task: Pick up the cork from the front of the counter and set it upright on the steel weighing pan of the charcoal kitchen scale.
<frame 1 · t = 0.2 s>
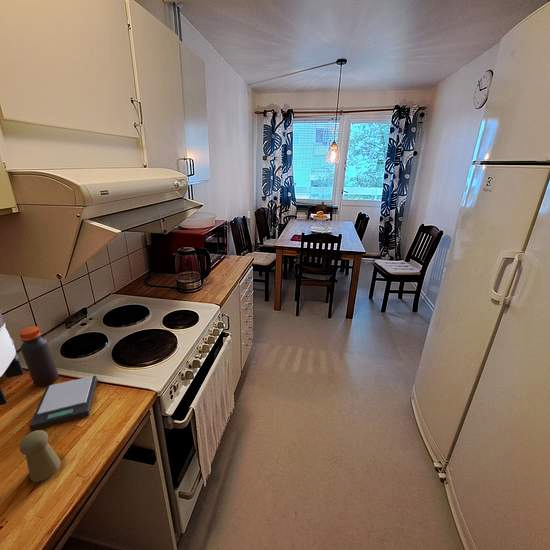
hand: (7, 389, 65), 21 cm above the worktop, tool pointing down, fingers open, 9 cm apart
bottle: (47, 380, 98), on the worktop
scale: (67, 402, 89), on the worktop
cork: (45, 469, 70), on the worktop
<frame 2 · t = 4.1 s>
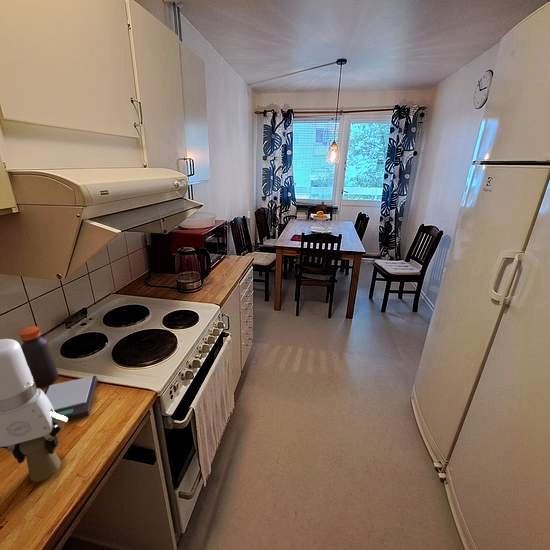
hand: (38, 452, 68), 6 cm above the worktop, tool pointing down, fingers closed on cork, 5 cm apart
cork: (45, 469, 70), on the worktop, touching gripper
everything else where it was.
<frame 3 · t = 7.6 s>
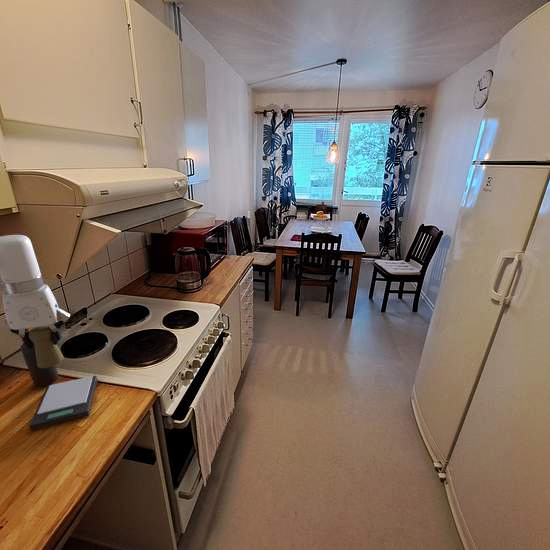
hand: (44, 343, 79), 23 cm above the worktop, tool pointing down, fingers closed on cork, 5 cm apart
cork: (50, 361, 81), point 17 cm above the worktop, touching gripper
everything else where it was.
when the fingers open (8 cm above the worktop, at t = 11.5 s): cork stays where it is, resting on scale.
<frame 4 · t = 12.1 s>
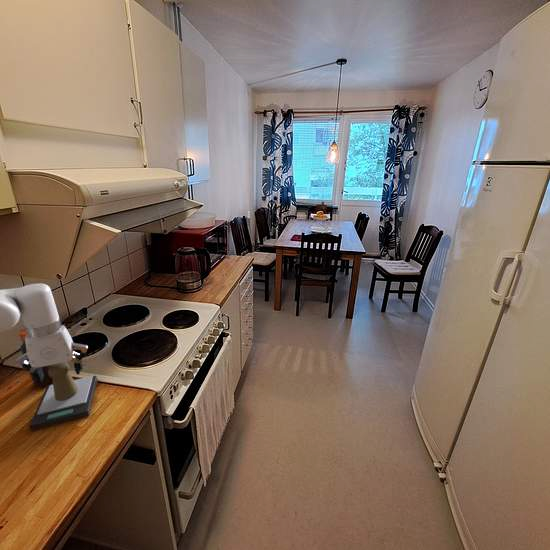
hand: (60, 375, 86), 10 cm above the worktop, tool pointing down, fingers open, 9 cm apart
cork: (67, 393, 89), point 2 cm above the worktop, touching scale
everything else where it was.
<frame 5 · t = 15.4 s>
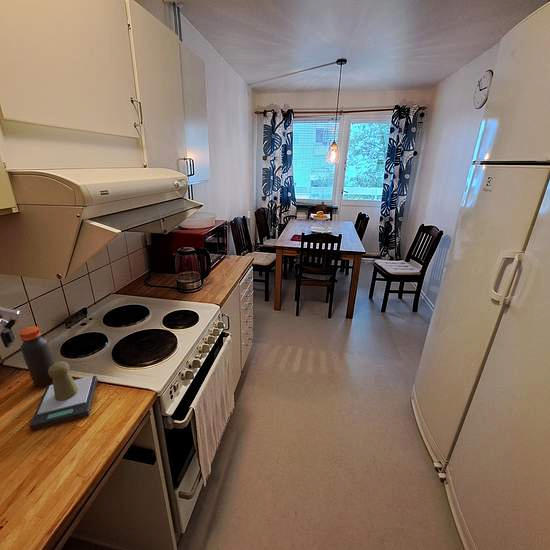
nothing on the worktop moved.
at the end: cork inside the target area on the scale (0.0 cm from its centre), point 2.3 cm above the scale's base; cork tilted 0°; the gripper is holding nothing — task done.
